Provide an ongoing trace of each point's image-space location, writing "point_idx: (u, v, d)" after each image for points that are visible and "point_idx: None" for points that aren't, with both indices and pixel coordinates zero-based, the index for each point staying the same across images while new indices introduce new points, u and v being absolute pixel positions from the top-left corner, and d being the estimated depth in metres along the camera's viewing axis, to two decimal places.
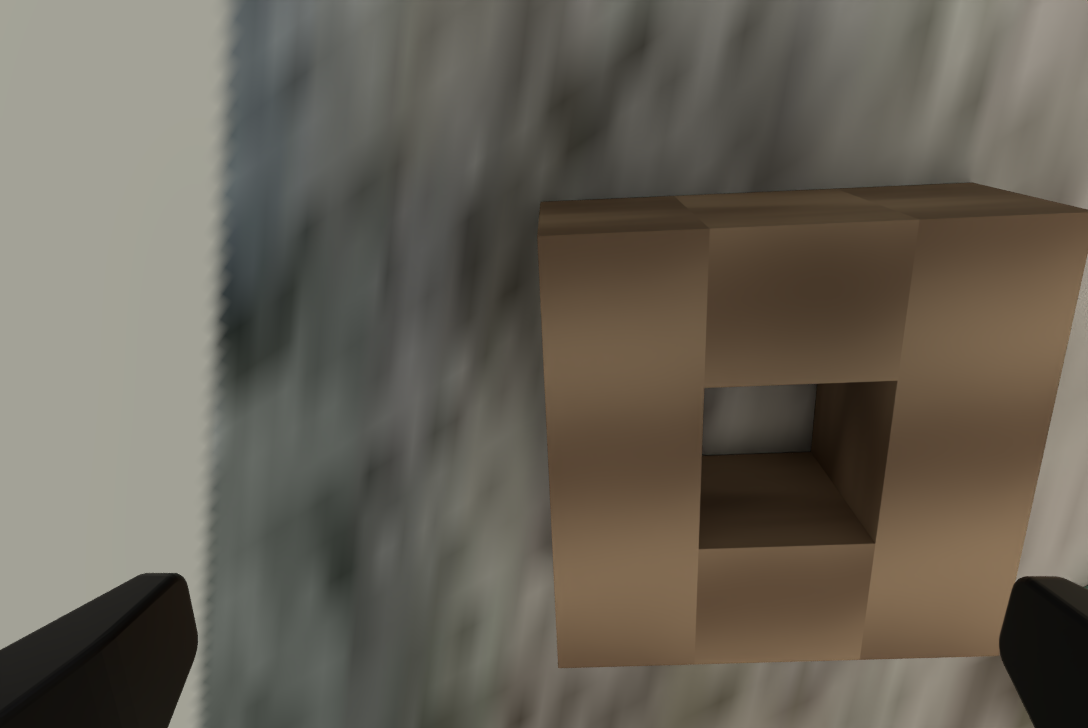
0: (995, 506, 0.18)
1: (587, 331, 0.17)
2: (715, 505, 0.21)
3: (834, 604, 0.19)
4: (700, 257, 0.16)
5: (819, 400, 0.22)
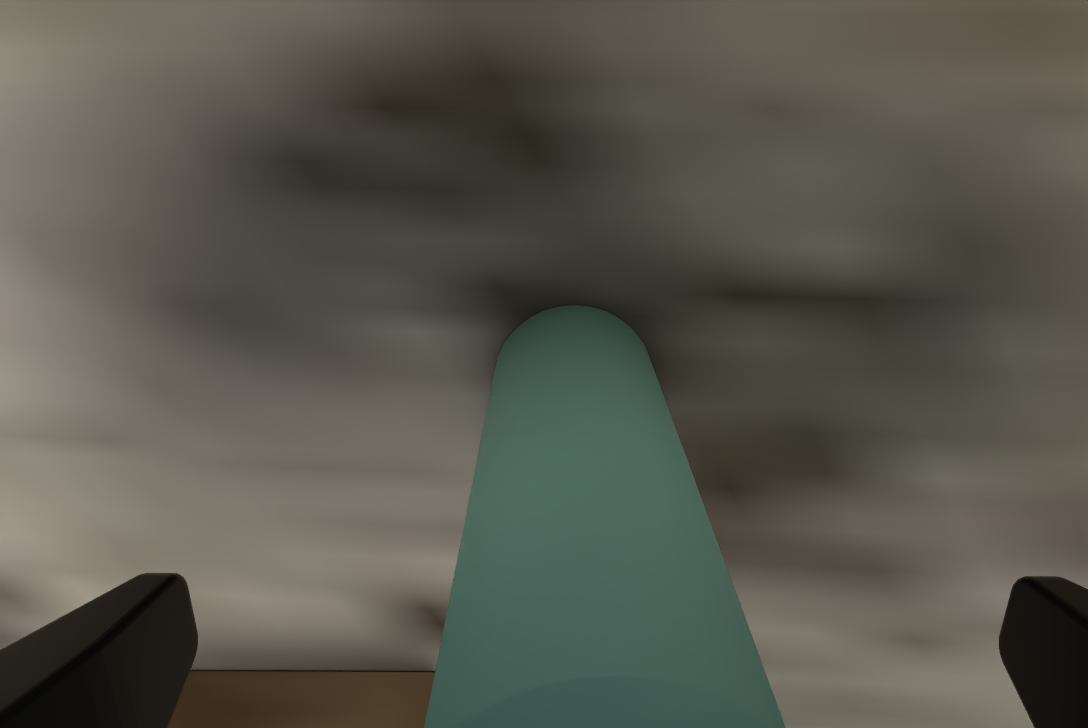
0: None
1: None
2: None
3: None
4: None
5: None
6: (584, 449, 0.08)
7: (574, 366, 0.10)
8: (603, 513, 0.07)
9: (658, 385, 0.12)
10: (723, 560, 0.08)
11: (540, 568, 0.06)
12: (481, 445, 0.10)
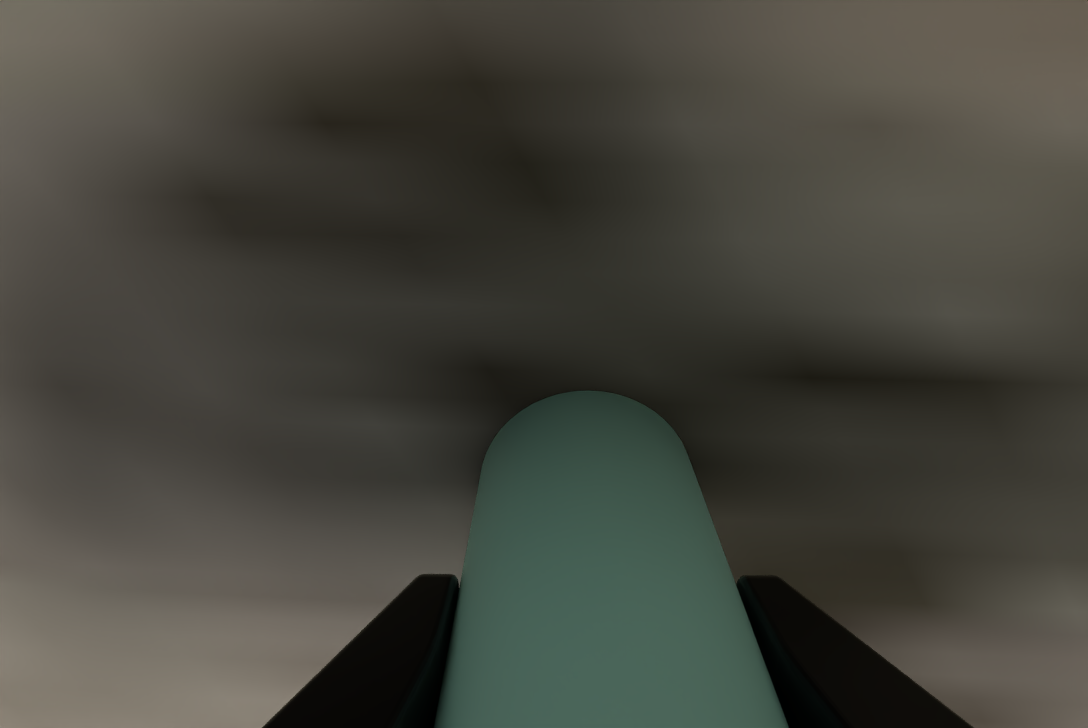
0: None
1: None
2: None
3: None
4: None
5: None
6: None
7: (592, 517, 0.07)
8: None
9: (711, 523, 0.08)
10: None
11: None
12: (451, 645, 0.07)
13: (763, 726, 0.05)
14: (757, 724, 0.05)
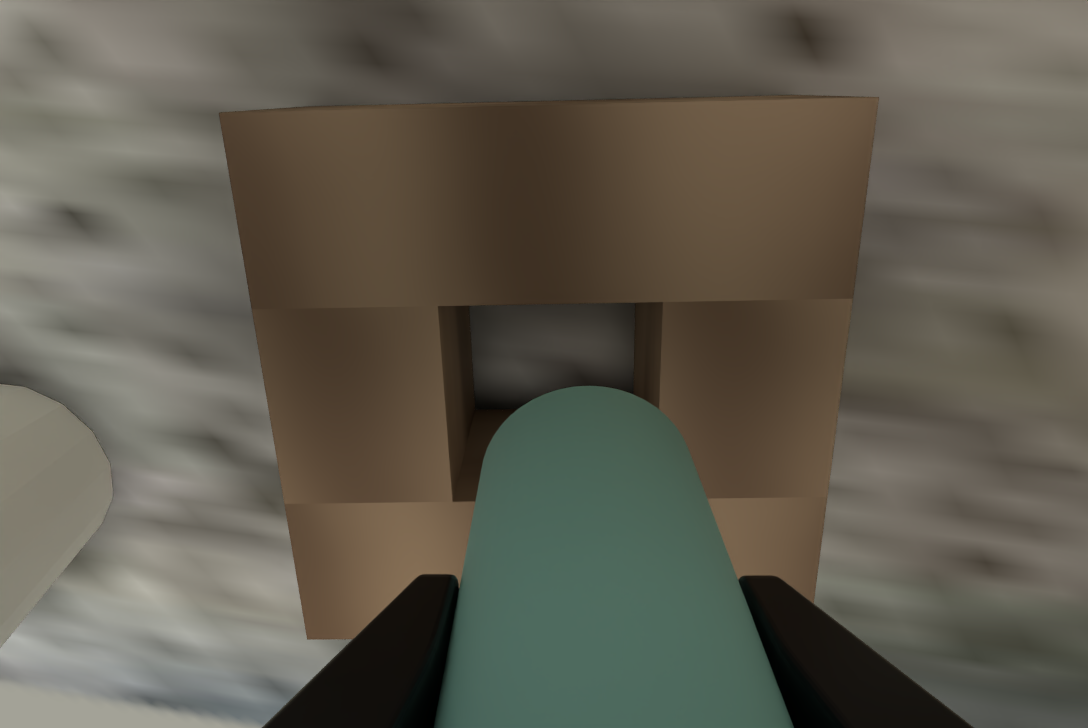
0: (615, 154, 0.14)
1: None
2: None
3: (753, 342, 0.15)
4: (313, 510, 0.16)
5: None
6: None
7: (593, 512, 0.07)
8: None
9: (712, 517, 0.08)
10: None
11: None
12: (452, 639, 0.07)
13: (766, 718, 0.05)
14: (760, 716, 0.05)
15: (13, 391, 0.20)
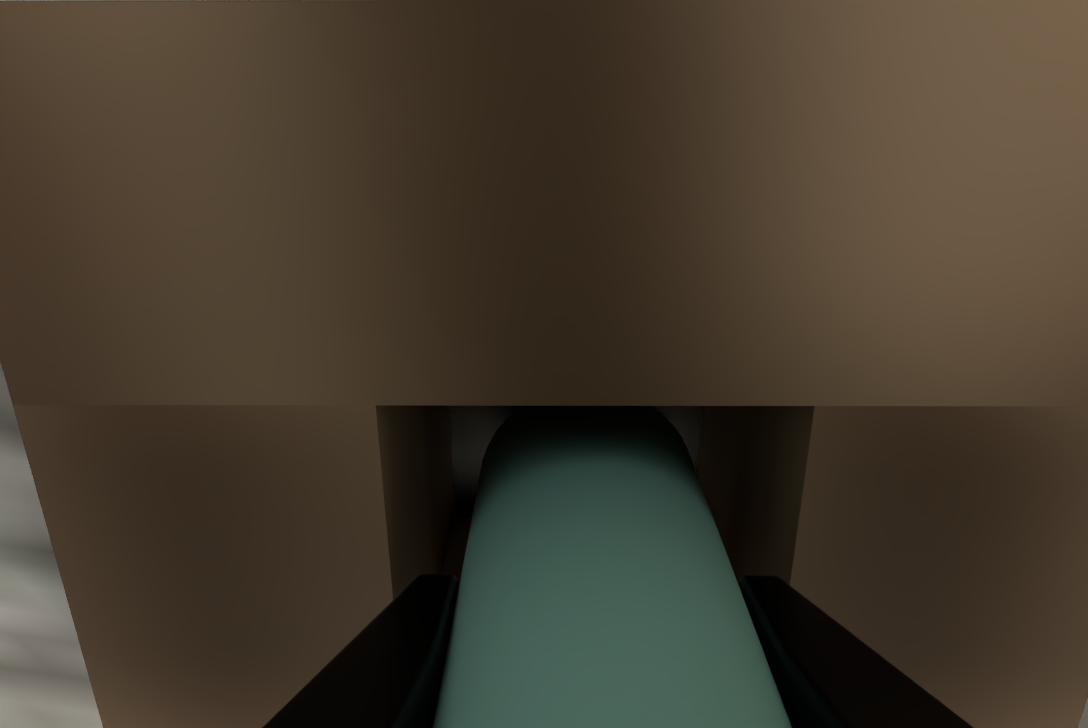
0: (744, 110, 0.07)
1: None
2: None
3: (980, 481, 0.08)
4: None
5: None
6: None
7: (592, 514, 0.07)
8: None
9: (711, 519, 0.08)
10: None
11: None
12: (451, 640, 0.07)
13: (764, 720, 0.05)
14: (758, 718, 0.05)
15: None
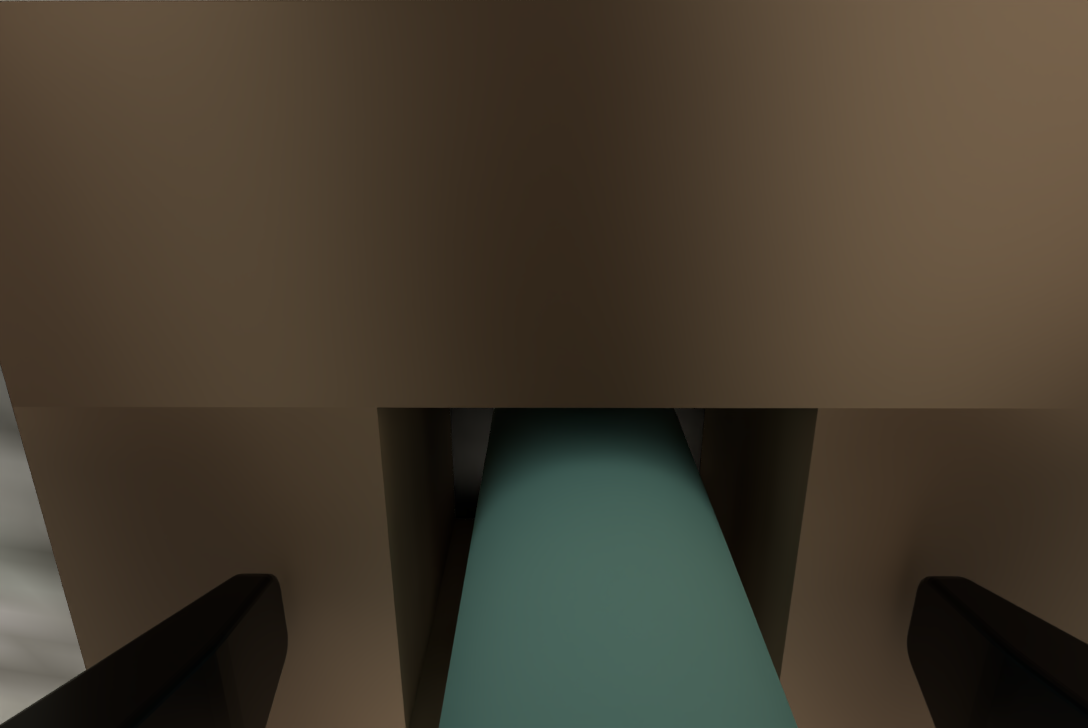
0: (748, 111, 0.06)
1: None
2: None
3: (984, 484, 0.08)
4: None
5: None
6: (600, 502, 0.07)
7: None
8: (627, 588, 0.06)
9: (675, 414, 0.11)
10: (760, 632, 0.07)
11: (556, 661, 0.05)
12: (483, 485, 0.09)
13: (696, 507, 0.08)
14: (692, 505, 0.08)
15: None
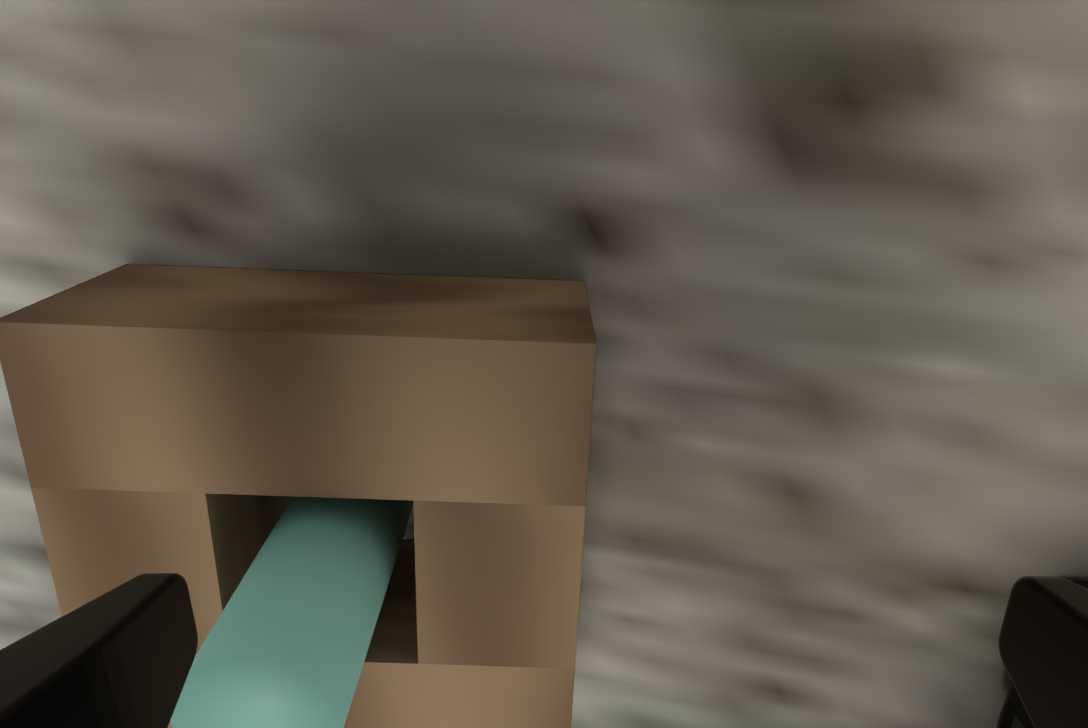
0: (361, 376, 0.15)
1: None
2: None
3: (497, 537, 0.16)
4: None
5: None
6: (303, 542, 0.16)
7: None
8: (288, 580, 0.14)
9: None
10: (363, 602, 0.15)
11: (246, 608, 0.14)
12: None
13: (359, 544, 0.16)
14: (357, 543, 0.16)
15: None
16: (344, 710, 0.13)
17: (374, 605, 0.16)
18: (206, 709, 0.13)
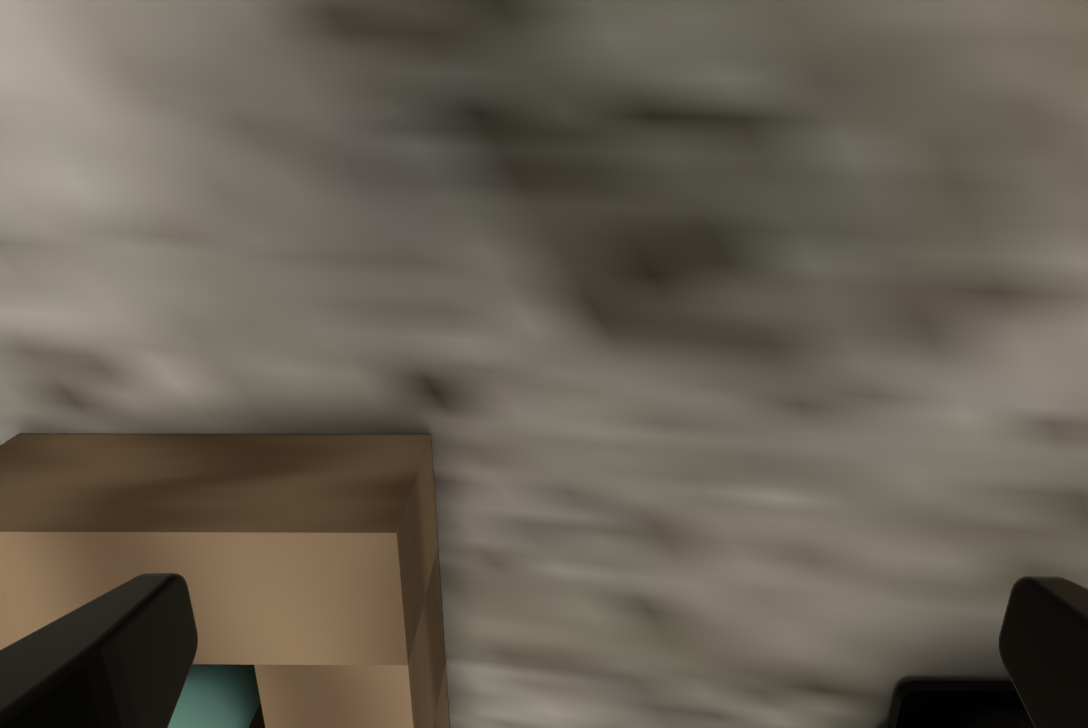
0: (193, 565, 0.17)
1: None
2: None
3: (333, 693, 0.18)
4: None
5: None
6: None
7: None
8: None
9: None
10: None
11: None
12: None
13: (209, 702, 0.18)
14: (207, 702, 0.18)
15: None
16: None
17: None
18: None
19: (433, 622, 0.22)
